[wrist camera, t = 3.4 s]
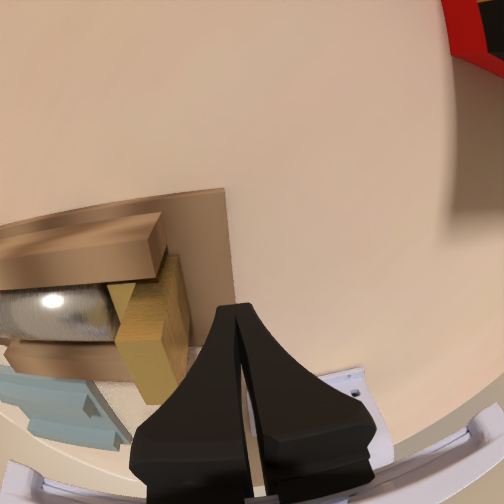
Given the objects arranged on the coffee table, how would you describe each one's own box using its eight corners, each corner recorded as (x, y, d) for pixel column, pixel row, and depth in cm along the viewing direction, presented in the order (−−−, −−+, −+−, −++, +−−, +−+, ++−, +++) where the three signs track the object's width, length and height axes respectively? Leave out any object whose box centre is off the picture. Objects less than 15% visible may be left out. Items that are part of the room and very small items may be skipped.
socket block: (224, 187, 14) (227, 214, 10) (238, 332, 18) (245, 382, 14) (-44, 238, 12) (-76, 264, 8) (0, 338, 16) (-20, 370, 12)
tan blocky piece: (178, 253, 14) (160, 339, 8) (190, 312, 15) (185, 404, 10) (121, 259, 13) (79, 341, 8) (138, 316, 15) (115, 403, 10)
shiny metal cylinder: (115, 256, 14) (88, 284, 10) (130, 317, 15) (111, 355, 12) (10, 269, 13) (-23, 292, 10) (27, 320, 14) (0, 349, 11)
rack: (88, 374, 18) (80, 399, 16) (131, 436, 23) (128, 457, 20) (-6, 363, 17) (-16, 382, 15) (42, 423, 22) (37, 440, 19)
